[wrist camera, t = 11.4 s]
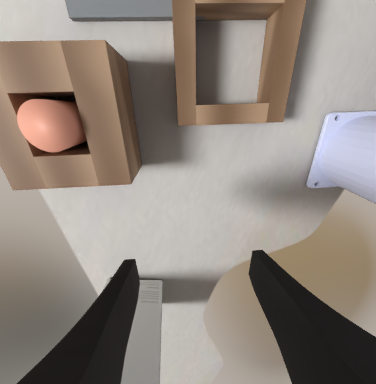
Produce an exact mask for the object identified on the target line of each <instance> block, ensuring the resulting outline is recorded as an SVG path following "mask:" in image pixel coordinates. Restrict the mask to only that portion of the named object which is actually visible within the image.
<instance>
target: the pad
mask: <svg viewBox="0 0 376 384" xmlns="http://www.w3.org/2000/svg"><path fill="white" fill-rule="evenodd" d="M65 2H66V6H67V10H68V14H69V18H70V19H72V20H73V21H146V20H173V13H172V0H65ZM205 18H206V16H199V17H195V20H205Z"/></svg>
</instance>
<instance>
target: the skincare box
mask: <svg viewBox="0 0 376 384" xmlns="http://www.w3.org/2000/svg"><path fill="white" fill-rule="evenodd" d="M110 280H111V279H107V281H106V283H105V286H104V289H105V287H106V286H107V284H108V283H109V282H110ZM162 288H163V281H162V280H140V287H139V295H138V302H137V306H136V311H135V315H134V319H133V323H132V327H131V332H130V336H129V340H128V344H127V349H126V354H125V360H124V366H123V372H122V379H121V384H160V356H161V322H162ZM104 289H103V290H104Z"/></svg>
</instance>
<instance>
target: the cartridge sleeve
mask: <svg viewBox="0 0 376 384" xmlns="http://www.w3.org/2000/svg"><path fill="white" fill-rule="evenodd" d="M305 5H306V0H172V13H173V35H174V55H175V75H176V95H177V115H178V126H188V125H215V124H242V123H269V122H283V121H284V116H285V110H286V105H287V100H288V95H289V89H290V84H291V79H292V74H293V68H294V63H295V58H296V53H297V47H298V42H299V37H300V32H301V26H302V21H303V16H304V11H305ZM199 16H206V18H205V20H253V19H267V23H266V31H265V39H264V47H263V55H262V64H261V72H260V80H259V88H258V96H257V103H252V104H220V105H196V31H195V17H199Z"/></svg>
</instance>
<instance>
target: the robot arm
mask: <svg viewBox="0 0 376 384" xmlns="http://www.w3.org/2000/svg"><path fill="white" fill-rule="evenodd" d="M336 116H337V118H336V120H335V117H336ZM316 182H317V183H316ZM315 183H316V184H315ZM306 185H307V187H309V188H326V187H342V188H344V189H346V190H348V191H350V192H352V193H355V194H357V195H359V196H361V197H363V198H365V199H367V200H369V201H371V202H373V203H375V204H376V111H359V112H331V113H329V114H327V115H326V117H325V120H324V123H323V127H322V130H321V134H320V137H319V141H318V144H317V148H316V152H315V155H314V159H313V162H312V166H311V169H310V173H309V176H308V180H307V183H306ZM249 276H250V279H251V283H252V286H253V288H254V291H255V294H256V296H257V298H258V300H259V302H260V305H261V307H262V309H263V311H264V313H265V316H266V318H267V320H268V322H269V324H270V327H271V329H272V331H273V333H274V336H275V338H276V340H277V343H278V345H279V348H280V351H281V353H282V356H283V359H284V362H285V365H286V368H287V370H288V373H289V376H290V379H291V382H292V384H376V337H375V336H373V335H371V334H370V333H368V332H367V331H365V330H363V329H362V328H360V327H359V326H357V325H356V324H354V323H353V322H351V321H350V320H348V319H347V318H345V317H344V316H342V315H341V314H339V313H338V312H336V311H335V310H333V309H332V308H331V307H329V306H328V305H327V304H325V303H324V302H322V301H321V300H320V299H318V298H317V297H316V296H315V295H313V294H312V293H311V292H309V291H308V290H307V289H306V288H305V287H303V286H302V285H301V284H300V283H298V282H297V281H296V280H295V279H294V278H292V277H291V276H290V275H289V274H288V273H287V272H286V271H285V270H284V269H282V268H281V267H280V266H279V265H278V264H277V263H276V262H275V261H274V260H273V259H272V258H270V257H269V256H268V255H267V254H266V253H265V252H264V251H263V250H255V251H253V252H252V258H251V264H250V270H249ZM139 287H140V279H139V275H138V270H137V266H136V261H135V259H129V260H124V261H123V263H122V264H121V266H120V267H119V269H118V270H117V272H116V273H115V275H114V276H113V277H112V279H111V280H110V282H109V283H108V284H107V286H106V287H105V289H104V290H103V291H102V293H101V294H100V295H99V297H98V298H97V299H96V300H95V302H94V303H93V304H92V306H91V307H90V308H89V309H88V310H87V312H86V313H85V314H84V315H83V317H82V318H81V319H80V320H79V321H78V322H77V323H76V324H75V326H74V327H73V328H72V329H71V330H70V331H69V332H68V333H67V335H66V336H65V337H64V338H63V339H62V340H61V341H60V342H59V343H58V344H57V345H56V346H55V347H54V348H53V349H52V350H51V351H50V352H49V353H48V354H47V355H46V356H45V357H44V358H43V359H42V360H41V361H40V362H39V363H38V364H37V365H36V366H35V367H34V368H33V369H32V370H31V371H29V373H27V374H26V375H25V376H24V377H23V378H22V379H21V380H20V381H19V382H18V383H17V384H121V379H122V372H123V366H124V360H125V354H126V349H127V344H128V340H129V336H130V332H131V327H132V323H133V319H134V315H135V311H136V306H137V302H138V295H139Z"/></svg>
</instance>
